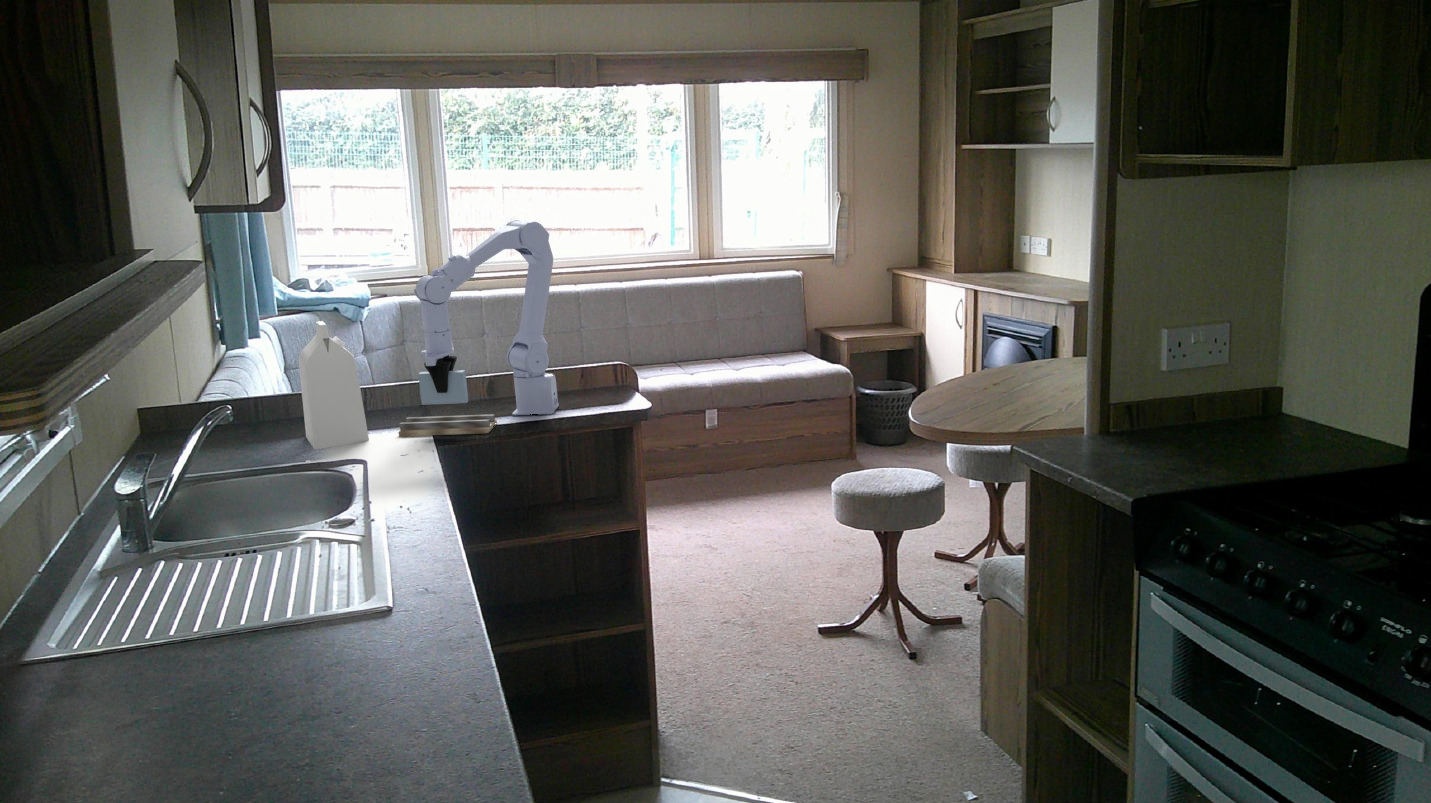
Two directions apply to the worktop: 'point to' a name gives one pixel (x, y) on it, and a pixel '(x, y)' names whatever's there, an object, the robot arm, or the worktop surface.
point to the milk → (331, 392)
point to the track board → (447, 425)
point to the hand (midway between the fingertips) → (444, 391)
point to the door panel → (454, 393)
